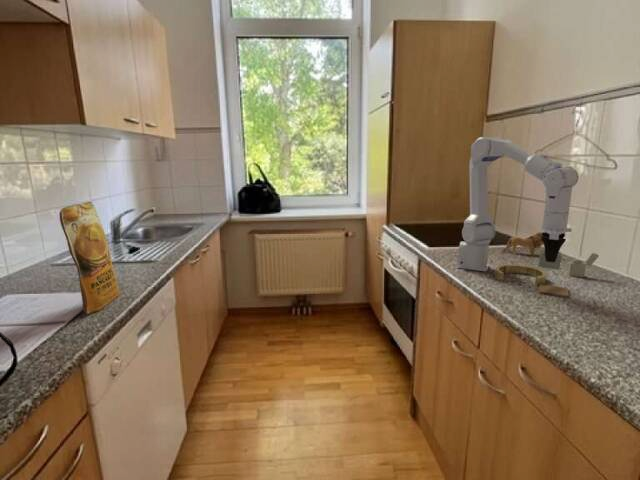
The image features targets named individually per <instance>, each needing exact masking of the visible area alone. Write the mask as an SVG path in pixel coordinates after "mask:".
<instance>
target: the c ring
mask: <svg viewBox="0 0 640 480" xmlns="http://www.w3.org/2000/svg"><path fill="white" fill-rule="evenodd" d="M509 273H511V274H521V275H528V276H531V277H535V281H534V285H535V286H536V287H539V285H540V284H543V285H546V279H547V272H545V271H544V270H542V269H540V268H536V267H532V266H528V265H521V264H502V265H497V266H496V267H495V271H494V278H496V280H497V281H501V282H503V281H504V278H505V277H504V276H505V275H504V274H509Z"/></svg>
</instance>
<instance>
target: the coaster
mask: <svg viewBox="0 0 640 480" xmlns="http://www.w3.org/2000/svg"><path fill="white" fill-rule="evenodd" d="M538 287H539V288H538V289H539V291H538V293H539V294H540V295H548V296H553V297H554V296H555V297H558V298H559V297H560V298H567V299H569V289H568V287H564V286H557V285H556V286H555V285H549V284H544V285H543V284H540V285H539V286H538Z"/></svg>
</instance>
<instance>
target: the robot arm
mask: <svg viewBox="0 0 640 480" xmlns="http://www.w3.org/2000/svg"><path fill="white" fill-rule="evenodd" d="M470 149H471V151H470V152H471V154H470V159H469V166H468V167H469V216H468V217H467V218H466V219H465V220H464V221H463V228H462V230H461V235H462V238H463V240H464V241H462V240H461V241H460V242H459V246H458V254H457V255H458V256H457V265H456V266H457V267H456V268H457V269H463V270H464V269H465V270H471V271H478V272H479V271H480V272H488V269H489V267H490V264H489V263H488V260H489V259H488V257H489V250H490V249H489V248H490V244H491V241H492V240H493V239H494V237H495V236H496V228H495V226H494V222H493V220H494V219H493V218H492V217H490V215H489V214H488V212H489V211H488V208H489V207H488V205H489V204H488V202H489V201H488V168H489V167H490V166H491V164H493V163H494V162H496V161H497V160H499V159H501V158H502V157H504V156H506V157H507V158H509V159H510V160H513V161H515V162H517V163H519V164H521V165H523V166H524V170H525V172H526V173H528V174H530V175H531V176H533V177H535V178H536V179H538V180H539V181H542V182H543V186H544V187H545V194H546V196H545V202H544V203H545V204H544V211H543V212H544V213H543V220H542V221H543V222H542V226H541V228H540V229H541V230H542V231H543V232H542V237H541V238H542V241H543V243H544V244H543V247H544V251H545V258H546V261H547V262H555V261H556V258H557V255H558V252H560V250H561V248H562V246H563V245H564V243H566V241H567V240H566V238H565V237H566V233H567V232H568V233H571V232H572V228H570V227H568V222H569V214H570V213H569V212H570V206H571V201H572V192H573V187H575V186H576V184H578V182H579V173H578V172H577V170H576V169H574V167H572V166H564V167H563V166H562V163H561V162H559V161H558V162H555V161H553V160H552V159H550V158H548V155H547V154H545V153H536V154H531V153H530V152H528V151H527V150H524V148H522V147H521V146H519V145H517V144H515V143H514V142H513V141H512V140H511V139H508V138H506V137H504V136H499V137H486V136H481V137H477V139H476V140H475V141H474V142H473V143H472V144H471V146H470Z"/></svg>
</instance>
